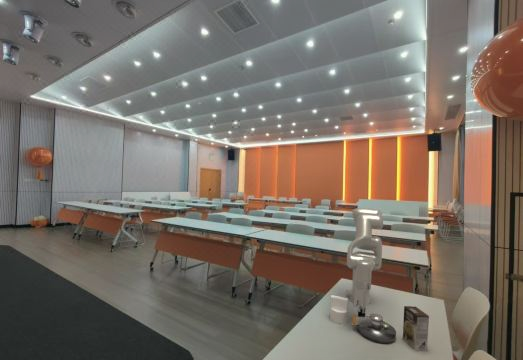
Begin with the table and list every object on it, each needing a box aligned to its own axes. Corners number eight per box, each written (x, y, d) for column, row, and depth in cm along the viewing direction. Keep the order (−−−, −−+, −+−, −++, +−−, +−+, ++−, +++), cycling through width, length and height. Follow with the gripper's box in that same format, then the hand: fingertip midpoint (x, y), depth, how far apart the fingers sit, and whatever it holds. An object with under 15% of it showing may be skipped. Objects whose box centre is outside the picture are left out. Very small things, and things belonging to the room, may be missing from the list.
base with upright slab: (329, 321, 137) (330, 299, 137) (330, 314, 145) (331, 292, 146) (346, 325, 134) (347, 302, 134) (347, 317, 142) (348, 296, 143)
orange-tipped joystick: (379, 324, 131) (380, 314, 131) (384, 330, 125) (385, 320, 125) (350, 321, 132) (351, 311, 132) (354, 327, 126) (354, 317, 126)
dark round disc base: (351, 332, 128) (351, 323, 128) (364, 319, 141) (364, 311, 141) (389, 349, 116) (390, 340, 116) (400, 333, 129) (400, 325, 129)
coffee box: (401, 338, 125) (403, 305, 125) (414, 338, 125) (415, 305, 125) (414, 351, 116) (416, 315, 116) (428, 351, 116) (429, 315, 116)
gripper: (360, 278, 140) (359, 311, 140) (350, 286, 129) (348, 322, 129) (375, 282, 135) (373, 317, 135) (365, 291, 124) (363, 328, 124)
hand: (361, 319), depth 132 cm, fingers closed
